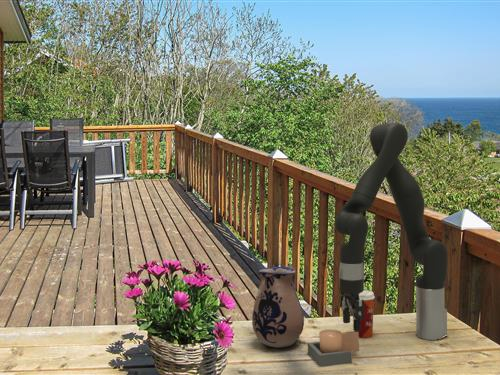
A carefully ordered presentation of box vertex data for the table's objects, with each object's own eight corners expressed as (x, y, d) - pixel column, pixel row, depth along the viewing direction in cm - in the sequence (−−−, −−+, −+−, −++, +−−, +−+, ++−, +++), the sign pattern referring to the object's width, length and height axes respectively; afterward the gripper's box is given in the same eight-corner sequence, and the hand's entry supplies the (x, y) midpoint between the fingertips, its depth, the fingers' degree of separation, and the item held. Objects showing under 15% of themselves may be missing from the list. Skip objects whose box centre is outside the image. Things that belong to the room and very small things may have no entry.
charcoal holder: (337, 349, 191) (337, 339, 191) (351, 362, 180) (351, 351, 180) (307, 353, 189) (307, 342, 189) (320, 366, 178) (319, 355, 178)
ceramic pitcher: (244, 349, 194) (242, 275, 192) (267, 329, 214) (265, 261, 212) (295, 355, 188) (293, 278, 186) (314, 334, 207) (312, 263, 205)
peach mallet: (353, 350, 190) (353, 326, 190) (362, 358, 183) (361, 333, 183) (316, 355, 187) (316, 330, 187) (324, 363, 181) (323, 338, 180)
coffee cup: (375, 339, 199) (375, 296, 198) (351, 338, 201) (350, 295, 200) (375, 331, 208) (374, 289, 206) (351, 330, 209) (350, 289, 208)
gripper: (372, 280, 178) (372, 333, 180) (353, 270, 192) (354, 319, 193) (349, 282, 177) (349, 335, 178) (332, 272, 190) (332, 321, 192)
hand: (351, 326), depth 186 cm, fingers open, 8 cm apart
